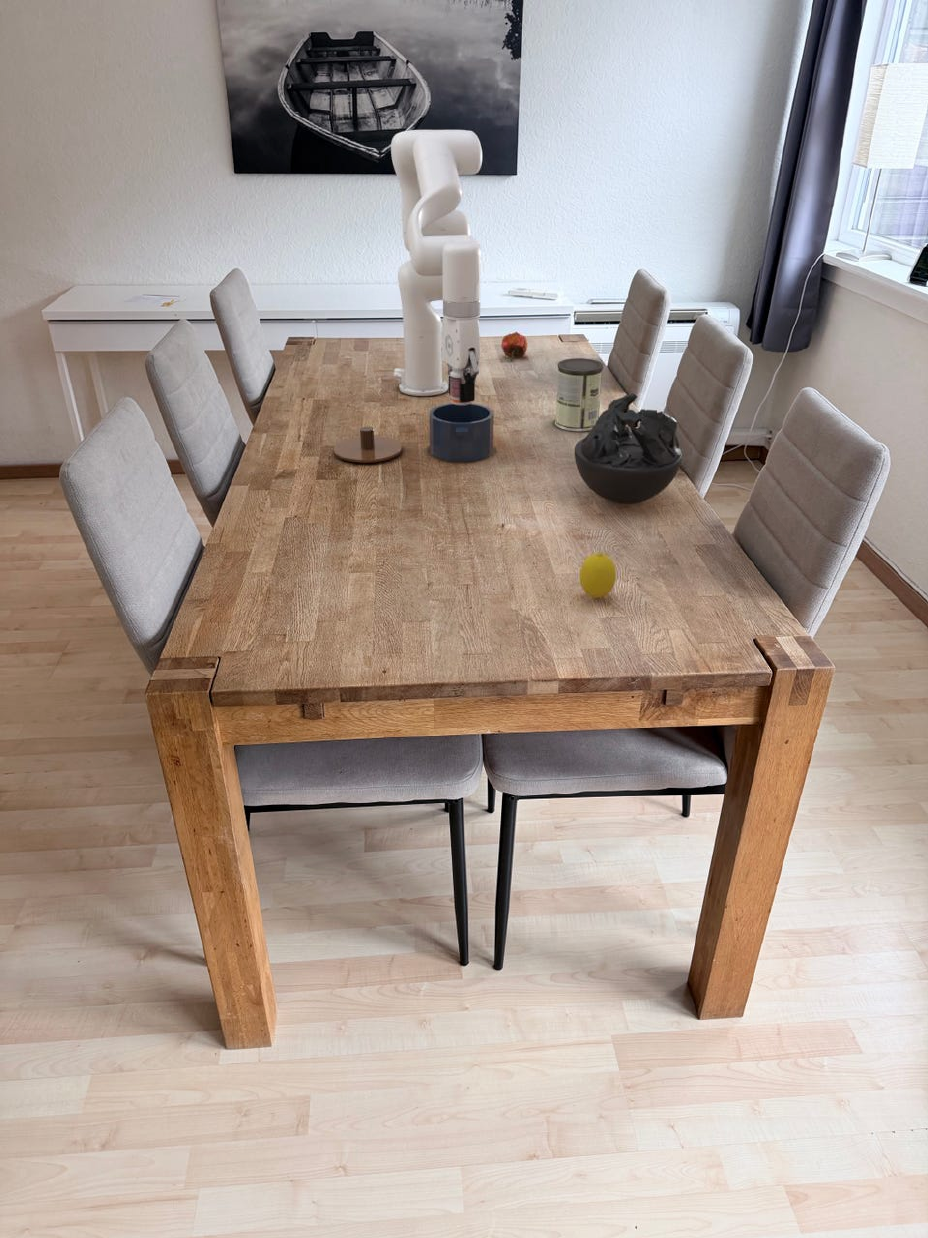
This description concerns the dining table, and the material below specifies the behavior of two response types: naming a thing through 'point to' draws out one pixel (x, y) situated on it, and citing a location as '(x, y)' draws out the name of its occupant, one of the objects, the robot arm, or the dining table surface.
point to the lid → (367, 447)
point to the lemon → (598, 575)
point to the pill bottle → (456, 386)
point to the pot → (461, 432)
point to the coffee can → (578, 394)
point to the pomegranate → (514, 345)
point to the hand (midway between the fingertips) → (461, 396)
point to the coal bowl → (629, 453)
